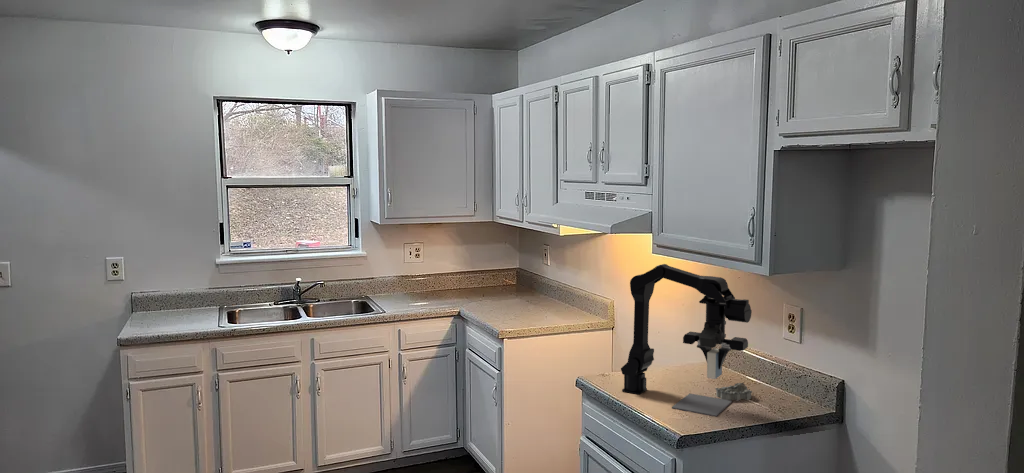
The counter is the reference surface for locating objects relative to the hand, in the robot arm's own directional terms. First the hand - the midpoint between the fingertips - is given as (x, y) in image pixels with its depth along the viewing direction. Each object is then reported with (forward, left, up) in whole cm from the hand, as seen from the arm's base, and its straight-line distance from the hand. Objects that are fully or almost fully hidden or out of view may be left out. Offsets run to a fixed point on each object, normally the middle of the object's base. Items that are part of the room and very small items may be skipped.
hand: (714, 368), depth 220 cm
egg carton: (+2, +13, -13) cm, 19 cm away
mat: (-4, 0, -13) cm, 13 cm away
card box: (0, 0, -3) cm, 3 cm away
